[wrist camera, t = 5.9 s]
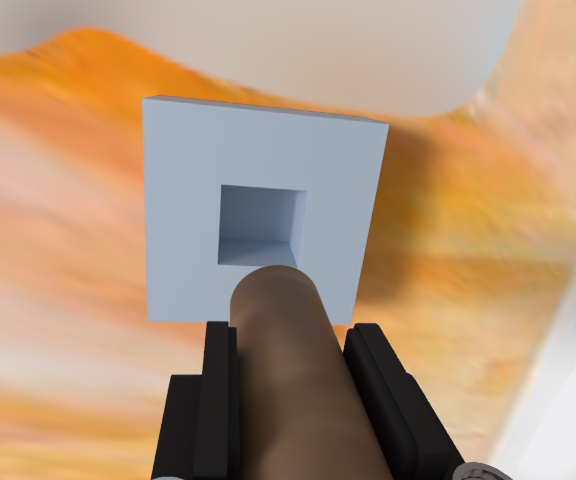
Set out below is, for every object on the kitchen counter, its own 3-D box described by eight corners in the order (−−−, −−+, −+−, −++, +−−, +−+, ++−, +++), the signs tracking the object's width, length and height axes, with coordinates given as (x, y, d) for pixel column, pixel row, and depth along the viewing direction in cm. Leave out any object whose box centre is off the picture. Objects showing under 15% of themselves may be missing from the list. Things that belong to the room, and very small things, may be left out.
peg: (324, 266, 13) (553, 731, 4) (313, 342, 14) (466, 842, 5) (232, 263, 12) (240, 788, 3) (227, 342, 14) (223, 898, 4)
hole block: (362, 117, 24) (389, 124, 20) (333, 289, 28) (350, 325, 24) (158, 95, 22) (142, 98, 18) (160, 284, 27) (147, 321, 22)
